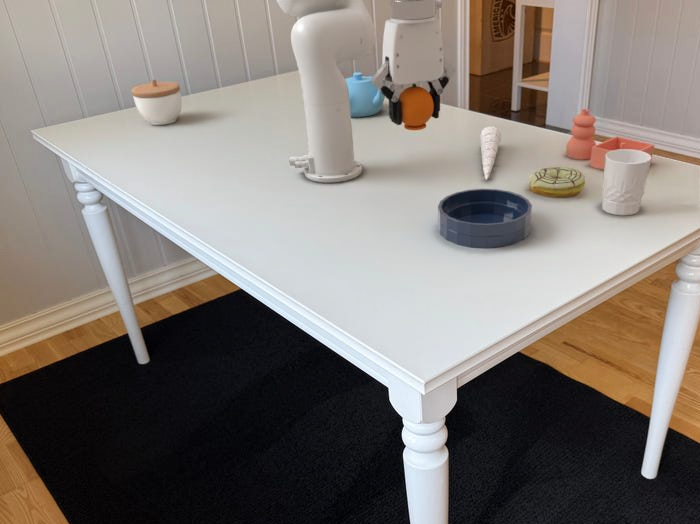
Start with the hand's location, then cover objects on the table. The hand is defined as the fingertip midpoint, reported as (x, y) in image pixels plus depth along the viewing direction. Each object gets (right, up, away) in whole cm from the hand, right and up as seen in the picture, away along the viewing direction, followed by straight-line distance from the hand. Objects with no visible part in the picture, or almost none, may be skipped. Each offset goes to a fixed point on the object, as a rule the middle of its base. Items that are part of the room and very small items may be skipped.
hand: (414, 118), depth 123 cm
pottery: (+42, 0, +26) cm, 50 cm away
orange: (0, -1, +1) cm, 1 cm away
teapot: (-14, +25, +65) cm, 71 cm away
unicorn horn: (+17, 0, +29) cm, 34 cm away
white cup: (+39, -15, +5) cm, 42 cm away
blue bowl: (+12, -21, -1) cm, 24 cm away
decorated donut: (+29, -10, +13) cm, 33 cm away
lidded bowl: (-68, +22, +66) cm, 98 cm away
